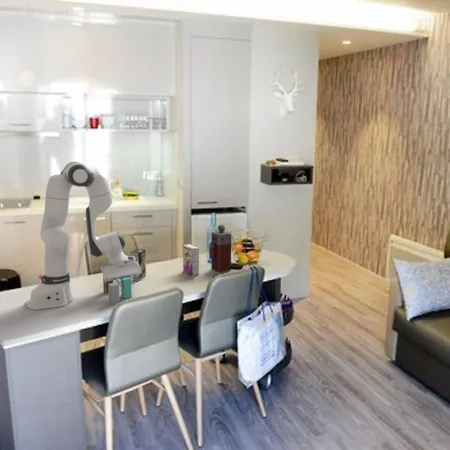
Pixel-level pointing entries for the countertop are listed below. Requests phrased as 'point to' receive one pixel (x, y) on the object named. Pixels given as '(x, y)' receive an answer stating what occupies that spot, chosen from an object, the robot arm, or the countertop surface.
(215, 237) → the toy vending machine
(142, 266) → the coffee box
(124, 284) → the teal block
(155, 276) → the countertop surface
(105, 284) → the walnut block
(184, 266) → the candy bar box
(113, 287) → the slate block
